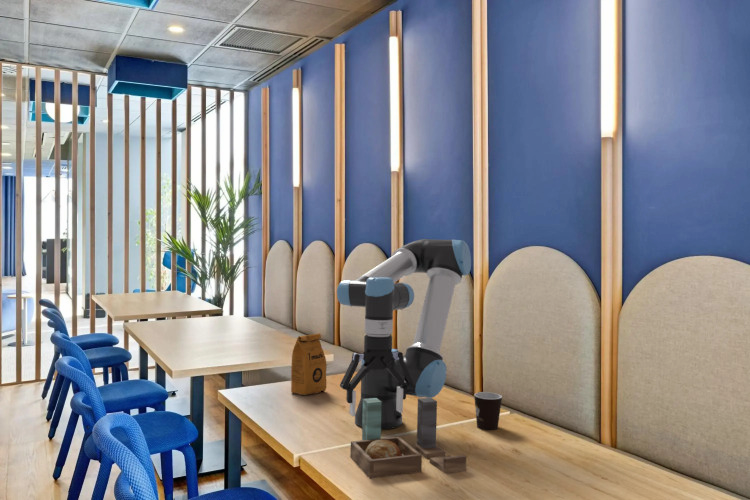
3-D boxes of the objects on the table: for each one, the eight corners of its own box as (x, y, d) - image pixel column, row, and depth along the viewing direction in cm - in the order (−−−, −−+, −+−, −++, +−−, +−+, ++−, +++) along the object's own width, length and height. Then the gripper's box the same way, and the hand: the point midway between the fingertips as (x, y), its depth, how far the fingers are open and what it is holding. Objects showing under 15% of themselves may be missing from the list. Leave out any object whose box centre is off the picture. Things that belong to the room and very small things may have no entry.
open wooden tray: (344, 450, 169) (345, 400, 169) (391, 445, 174) (392, 396, 174) (369, 478, 150) (370, 421, 150) (421, 471, 155) (422, 416, 155)
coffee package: (330, 392, 231) (331, 334, 230) (303, 398, 222) (304, 337, 222) (313, 387, 238) (314, 331, 238) (287, 392, 230) (288, 334, 229)
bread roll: (362, 472, 162) (351, 447, 161) (392, 451, 167) (382, 426, 165) (381, 486, 154) (370, 459, 152) (412, 463, 159) (402, 437, 157)
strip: (429, 462, 161) (430, 449, 161) (449, 459, 164) (449, 446, 164) (445, 473, 154) (446, 459, 154) (465, 470, 157) (466, 456, 157)
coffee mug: (501, 432, 188) (502, 400, 187) (472, 430, 189) (473, 398, 189) (501, 421, 199) (502, 390, 199) (474, 419, 201) (475, 389, 200)
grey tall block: (413, 448, 172) (414, 398, 172) (432, 446, 174) (433, 397, 174) (425, 458, 165) (426, 406, 164) (445, 455, 167) (446, 404, 166)
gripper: (338, 338, 157) (335, 420, 157) (426, 335, 166) (424, 413, 166) (329, 333, 164) (327, 412, 165) (414, 331, 173) (412, 406, 173)
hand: (376, 413), depth 165 cm, fingers open, 13 cm apart
